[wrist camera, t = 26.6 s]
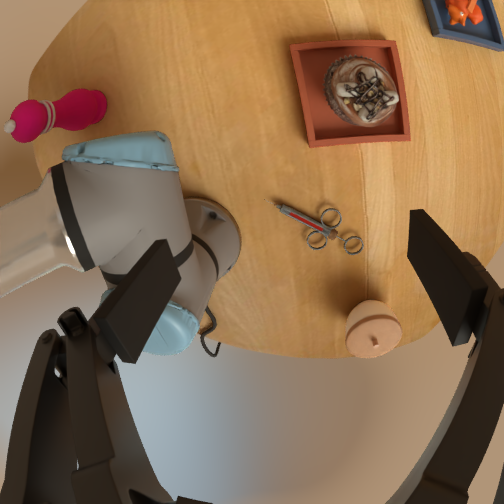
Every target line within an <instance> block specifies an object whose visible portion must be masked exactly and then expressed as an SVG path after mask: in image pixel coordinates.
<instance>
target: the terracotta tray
mask: <svg viewBox="0 0 504 504" xmlns="http://www.w3.org/2000/svg"><path fill="white" fill-rule="evenodd" d="M289 47H290V52H291V57H292V61H293V65H294V70H295V75H296V79H297V84H298V89H299V94H300V99H301V104H302V110H303V115H304V121H305V126H306V132H307V138H308V144H309V147H310V148H314V147H323V146H333V145H344V144H356V143H371V142H390V141H411V138H410V126H409V116H408V107H407V99H406V92H405V86H404V80H403V74H402V68H401V63H400V58H399V54H398V49H397V45H396V41H391V40H334V41H319V42H308V43H299V44H291V45H289ZM350 54H351V56H352V57H354V55H355V54H356V55H357V56H358V57H360V56H361V55H362V56H363V58H365V57H368V58H367V59H370V58H372V61H375V60H376V63H377V64H378V63H381V64H380V65H381V66H382V67H385V68H386V71H388V74H389V75H390V77H391V78H392V80H393V81H394V84H395V86H396V90H397V94H398V97H399V101H398V102H397V103H396V109H395V110H394V112H393V113H392V115H391V116H390V117H389V118H388V119H387V120H386V121H384V122H383V123H382V124H380V125H378V126H375V127H364V126H357V125H352V124H350V123H348V122H345V121H343V120H342V119H341V118H340V117H338V115H336V114H334V111H333V110H332V109H331V108H330V105H327V104H328V101H325V100H326V96H325V95H323V94H324V93H325V91H323V89H324V88H325V86H323V85H322V84H324V83H325V81H324V80H323V79H324V78H325V75H324V74H326V73H327V69H329V66H332V64H331V63H335V60H338V61H340V57H341V58H343V59H344V58H345V55H346V56H347V57H349V55H350Z"/></svg>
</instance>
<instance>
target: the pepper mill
mask: <svg viewBox="0 0 504 504" xmlns="http://www.w3.org/2000/svg"><path fill="white" fill-rule="evenodd" d="M106 109H107V101H106V98H105V96H104V94H103V93H102V92H100V91H98V90H91V91H89V90H87V89H76V90H73V91H71V92H69V93H67V94H66V95H65V96H64V97H62V98H61V99H59V100H57V101H54V102H50V101H49V100H43V101H39V102H38V101H37V100H26V101H24V102H22V103H20V104H19V105H18V106H17V107H16V108H15V109H14V111H13V112H12V114H11V118H10V120H8V121H7V122H6V123H5V125H4V130H5V132H7V133H11V135H12V136H13V138H14V139H15V140H16V141H18V142H21V143H26V142H31V141H33V140H34V139H36V138H37V137H38V136H39V135H41V134H43V133H47V132H49V131H50V130H51V129H52V128H54V127H60V128H63V129H66V130H71V131H77V130H82V129H84V128H86V127H87V126H88V125H91V124H95V123H97V122H99V121H100V120H101V119H102V118H103V117H104V115H105V113H106Z"/></svg>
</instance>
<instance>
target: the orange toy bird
mask: <svg viewBox="0 0 504 504" xmlns="http://www.w3.org/2000/svg"><path fill="white" fill-rule="evenodd" d="M476 2H477V0H445V3H446V8H447V9H448V14H449V15H450V17H451V18H450V21H449V23H450V24H451V25H454V24H456V23H460V24H461V25H463V26H465V20H466V18H467V17H468V18H469V19H470V21H471V22H472V23H473V24H474V25H476V24H478V23H480V22H481V21H482V20H483V15H482V13H481V9H480V8H479V6H478V5H477V4H476Z"/></svg>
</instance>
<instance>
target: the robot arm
mask: <svg viewBox="0 0 504 504" xmlns="http://www.w3.org/2000/svg"><path fill="white" fill-rule="evenodd" d="M62 159H63V160H65V161H64V162H62V163H60V164H58V165H55V166H53V167H50V168H48V170H47V173H46V175H45V177H44V179H43V181H42V183H41V185H40V186H39V188H38V189H36V190H34V191H32V192H30V193H27V194H25V195H23V196H21V197H19V198H17V199H15V200H13V201H11V202H9V203H8V204H6V205H4V206H2V207H0V298H1V297H3V296H5V295H7V294H8V293H10V292H12V291H14V290H16V289H18V288H20V287H21V286H24V285H26V284H27V283H29V282H31V281H33V280H35V279H37V278H39V277H41V276H43V275H45V274H47V273H49V272H51V271H53V270H55V269H57V268H60V267H62V266H69V267H71V268H74V269H76V270H78V271H80V272H85V271H88V270H90V269H92V268H94V267H96V266H99V268H100V270H101V272H102V274H103V277H104V279H105V281H106V284H107V286H108V290H107V291H105V292H104V293H103V295H102V297H101V303H100V305H99V308H98V309H97V310H96V311H95V313H94V314H93V315H92V317H91V318H90V319H89V321H87V319H86V318H85V316H84V314H83V313H82V311H81V310H80V308H78V307H73V308H70V309H68V310H67V311H65V312H64V313H63V314H61V316H60V317H59V318H58V321H57V323H58V324H59V326H60V327H61V329H62V330H63V332H64V333H65V336H60V335H59V334H58V333H57V331H56V330H55V329H49V330H46V331H45V332H43V333H42V335H41V336H40V337H39V339H38V341H37V343H36V346H35V349H34V352H33V354H32V357H31V360H30V363H29V366H28V369H27V373H26V375H25V379H24V382H23V385H22V389H21V392H20V396H19V400H18V404H17V408H16V412H15V416H14V421H13V425H12V430H11V436H10V442H9V448H8V454H7V462H6V471H5V480H4V483H3V486H2V489H1V493H0V504H212V503H208V502H203V501H198V500H193V499H189V498H185V497H180V496H178V498H177V501H173V499H172V498H171V496H170V495H169V494H168V492H167V491H166V490H165V489H164V488H163V487H162V486H161V485H160V483H159V481H158V480H157V477H156V475H155V473H154V471H153V468H152V466H151V464H150V462H149V459H148V457H147V454H146V452H145V449H144V447H143V444H142V442H141V439H140V437H139V434H138V431H137V428H136V426H135V423H134V420H133V417H132V414H131V411H130V408H129V405H128V402H127V399H126V395H125V392H124V389H123V385H122V382H121V378H120V374H119V370H118V366H117V364H116V362H115V360H114V357H115V355H116V353H117V355H118V356H119V358H120V359H121V360H122V362H126V363H133V364H136V362H137V360H138V358H139V356H140V354H141V352H142V351H143V352H146V353H150V354H155V355H174V354H177V353H180V352H182V351H183V350H184V349H186V348H187V347H188V346H189V345H190V343H191V342H192V340H193V338H194V336H195V335H196V333H197V332H198V330H199V328H200V327H199V326H200V322H201V319H202V317H203V314H204V312H205V310H206V312H207V314H208V315H209V316H210V318H211V319H212V321H213V326H212V327H211V328H210V329H208V330H206V331H205V332H203V333H202V334H201V337H200V338H201V343H202V346H203V348H204V349H205V351H206V352H207V353H208V354H209V355H210V356H212V357H216V356H217V354H218V352H219V348H220V345H221V342H218V345H217V348H216V351H215V354H212V353H211V352H210V351H209V350H208V348H207V347H206V345H205V342H204V336H205V335H206V334H208V333H210V332H212V331H213V330H214V329H215V328H216V325H217V323H216V319H215V317H214V316H213V314H212V313H211V311H210V310H209V308H208V306H207V304H208V302H209V299H210V296H211V294H212V291H213V289H214V286H215V284H216V282H217V281H218V280H219V279H220V278H221V277H222V276H224V275H225V274H226V273H228V272H229V271H230V270H231V268H232V267H233V266H234V265H235V263H236V261H237V259H238V256H239V253H240V250H241V234H240V230H239V227H238V225H237V223H236V221H235V220H234V218H233V217H232V215H231V214H230V213H229V212H228V211H227V210H226V209H225V208H224V207H222V206H221V205H219V204H218V203H216V202H214V201H212V200H209V199H206V198H202V197H185V198H183V194H182V189H181V184H180V179H179V174H178V171H179V167H178V166H177V165H176V161H175V158H174V154H173V150H172V145H171V142H170V140H169V138H168V137H167V136H166V135H165V134H164V133H162V132H159V131H143V132H135V133H128V134H121V135H115V136H109V137H104V138H99V139H94V140H90V141H86V142H82V143H78V144H73V145H69V146H66V147H65V148H64V150H63V155H62ZM407 257H408V259H409V261H410V263H411V264H412V266H413V268H414V270H415V271H416V273H417V275H418V277H419V279H420V280H421V282H422V284H423V286H424V288H425V290H426V292H427V293H428V295H429V297H430V299H431V301H432V303H433V305H434V307H435V309H436V311H437V313H438V315H439V318H440V320H441V322H442V324H443V326H444V328H445V330H446V333H447V335H448V337H449V339H450V342H451V344H452V346H457V345H461V344H465V343H468V341H469V339H470V337H471V334H472V332H473V333H474V335H475V337H476V341H475V343H474V345H473V347H472V349H471V351H470V354H469V356H468V358H469V359H468V362H467V365H466V368H465V370H464V373H463V375H462V378H461V381H460V383H459V385H458V387H457V390H456V392H455V394H454V396H453V399H452V401H451V403H450V405H449V407H448V409H447V411H446V413H445V415H444V417H443V419H442V421H441V423H440V425H439V427H438V428H437V430H436V432H435V434H434V436H433V437H432V439H431V441H430V443H429V444H428V446H427V448H426V449H425V451H424V453H423V454H422V456H421V457H420V459H419V460H418V462H417V463H416V465H415V466H414V468H413V469H412V471H411V472H410V474H409V475H408V477H407V478H406V479H405V481H404V482H403V483H402V485H401V486H400V487H399V489H398V490H397V491H396V492H395V494H394V495H393V496H392V497H391V498H390V499H389V500H388V501H387V502H386V503H385V504H467V501H468V498H469V496H468V492H467V491H468V488H469V486H470V484H471V482H472V480H473V478H474V476H475V474H476V472H477V470H478V468H479V466H480V464H481V462H482V460H483V457H484V455H485V453H486V451H487V448H488V446H489V443H490V441H491V438H492V436H493V433H494V431H495V428H496V425H497V422H498V419H499V416H500V413H501V410H502V407H503V404H504V288H503V289H501V288H500V287H499V286H498V284H497V283H496V282H495V280H494V279H493V278H492V277H491V275H490V274H489V273H488V271H486V269H485V268H484V266H483V265H481V263H480V262H479V260H478V259H477V258H476V257H475V256H473V255H472V254H470V253H469V252H461V250H460V249H459V248H458V247H457V246H456V245H455V243H454V242H453V241H452V240H451V239H450V238H449V237H448V235H447V234H446V233H445V232H444V231H443V230H442V229H441V228H440V227H439V226H438V224H437V223H436V222H435V221H434V220H433V219H432V218H431V217H430V216H429V215H428V214H427V213H426V212H425V211H424V210H423V209H417V210H410V222H409V239H408V252H407ZM55 368H56V369H57V370H58V372H59V373H60V377H57V376H56V375H55ZM77 460H78V464H79V468H78V470H77ZM493 504H504V464H503V469H502V473H501V478H500V481H499V485H498V489H497V492H496V496H495V499H494V502H493Z"/></svg>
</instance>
